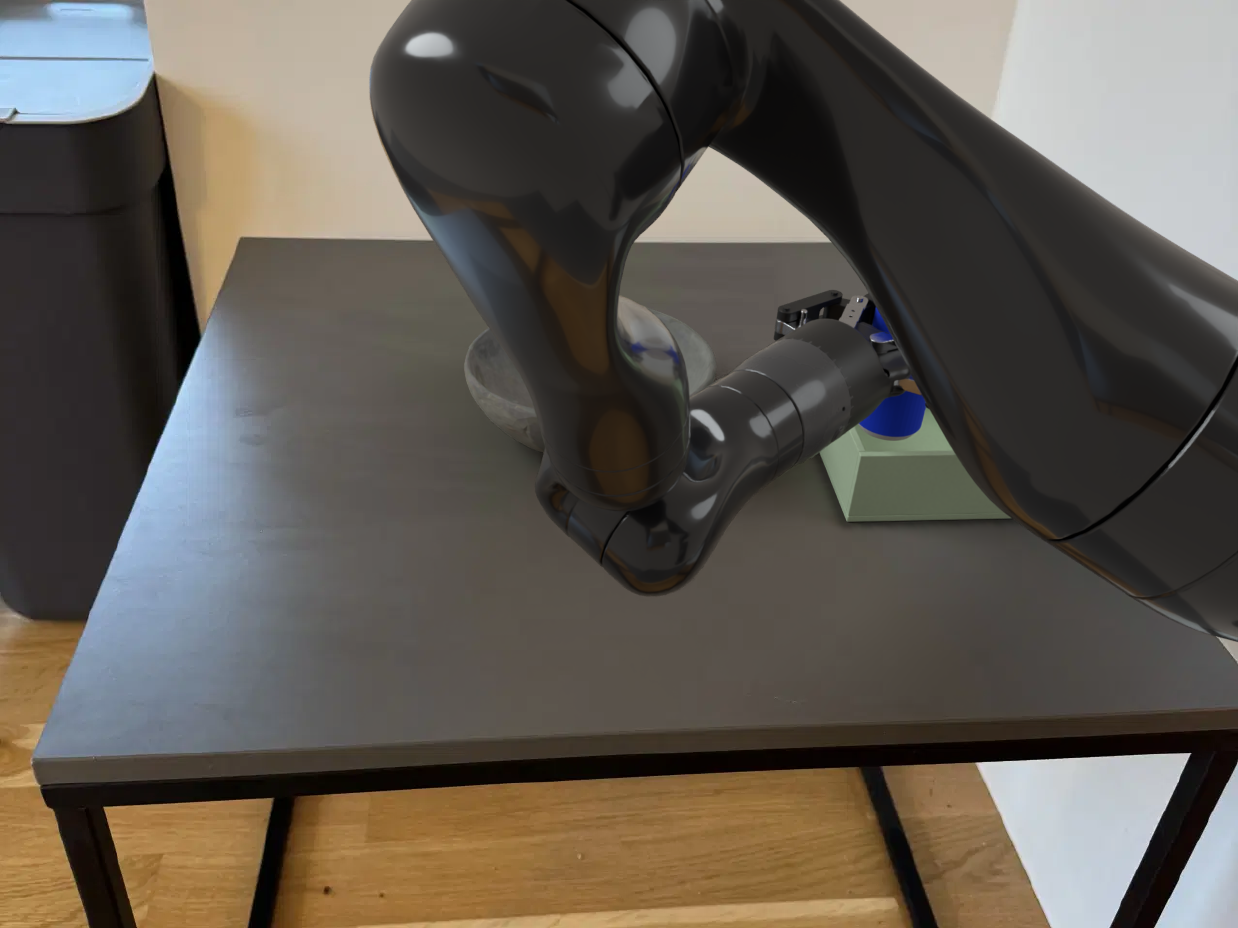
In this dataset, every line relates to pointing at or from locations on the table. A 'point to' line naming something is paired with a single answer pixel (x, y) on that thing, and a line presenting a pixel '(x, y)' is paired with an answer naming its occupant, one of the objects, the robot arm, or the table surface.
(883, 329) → the beverage can
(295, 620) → the table surface
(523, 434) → the bowl
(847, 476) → the open box
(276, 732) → the table surface
